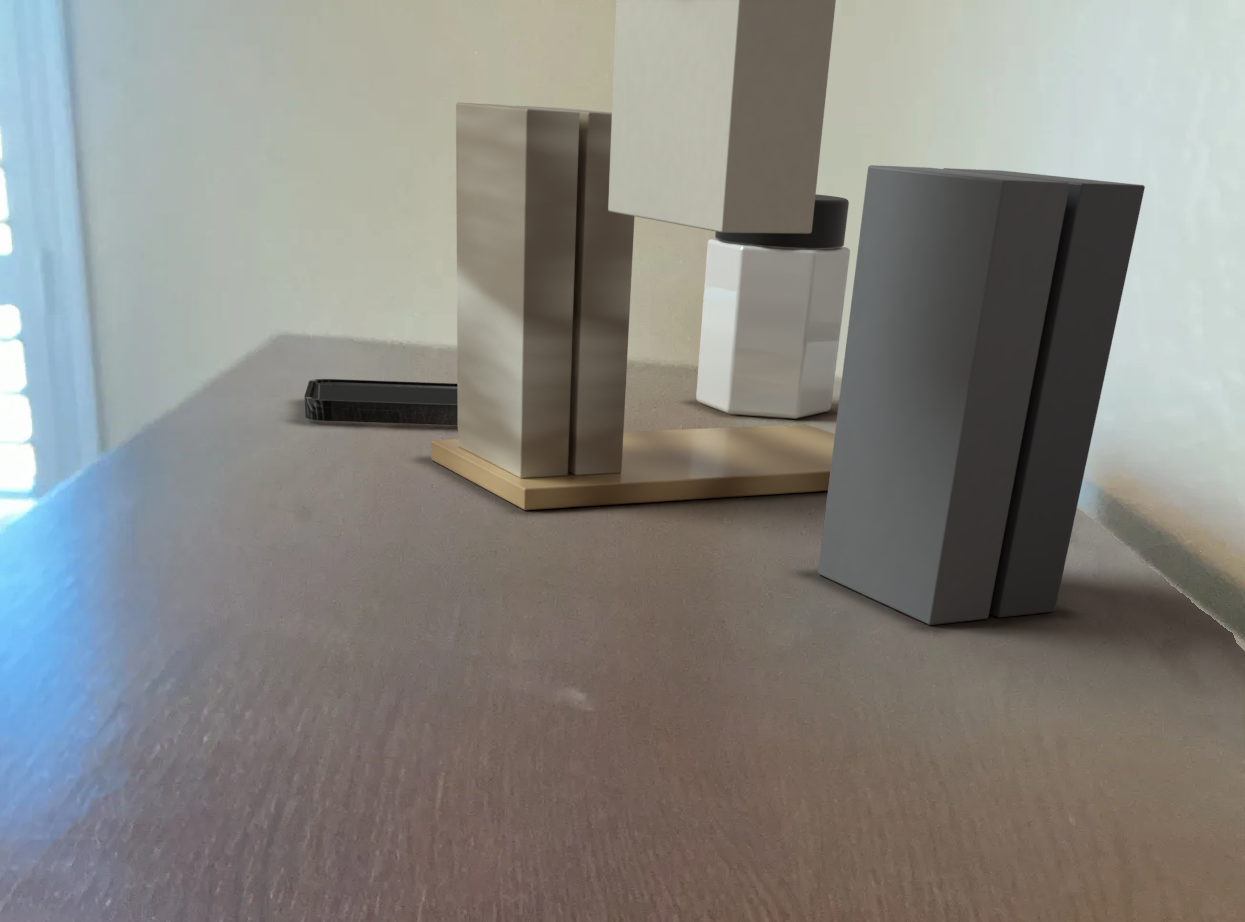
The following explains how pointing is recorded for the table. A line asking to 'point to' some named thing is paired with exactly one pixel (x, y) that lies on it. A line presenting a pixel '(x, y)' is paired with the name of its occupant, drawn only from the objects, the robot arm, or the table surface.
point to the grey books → (972, 385)
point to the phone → (382, 402)
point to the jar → (774, 317)
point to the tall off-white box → (719, 112)
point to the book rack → (572, 335)
